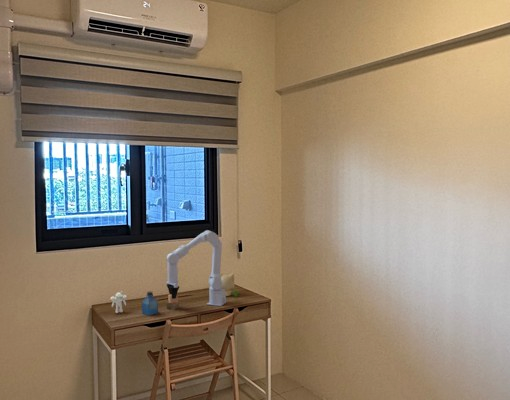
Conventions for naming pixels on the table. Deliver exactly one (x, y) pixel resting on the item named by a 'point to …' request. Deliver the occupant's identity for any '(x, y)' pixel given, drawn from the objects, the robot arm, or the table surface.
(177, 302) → the slab upper
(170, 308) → the slab lower
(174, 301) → the block
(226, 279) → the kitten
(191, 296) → the table surface
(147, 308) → the perfume bottle
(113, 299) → the hat wearing toy figure
